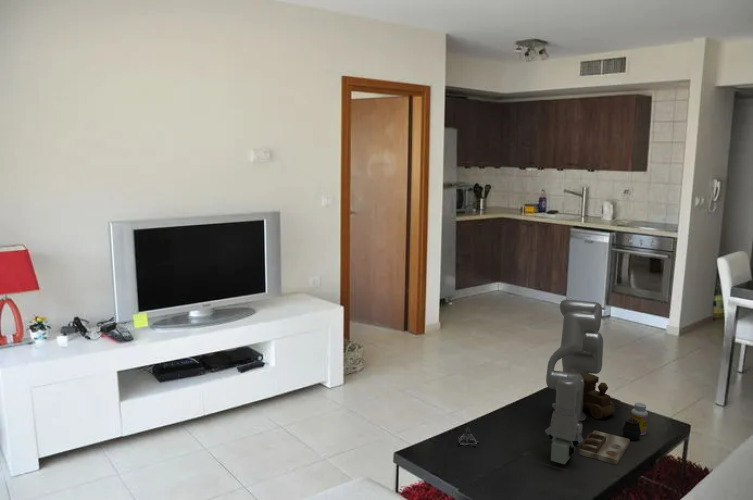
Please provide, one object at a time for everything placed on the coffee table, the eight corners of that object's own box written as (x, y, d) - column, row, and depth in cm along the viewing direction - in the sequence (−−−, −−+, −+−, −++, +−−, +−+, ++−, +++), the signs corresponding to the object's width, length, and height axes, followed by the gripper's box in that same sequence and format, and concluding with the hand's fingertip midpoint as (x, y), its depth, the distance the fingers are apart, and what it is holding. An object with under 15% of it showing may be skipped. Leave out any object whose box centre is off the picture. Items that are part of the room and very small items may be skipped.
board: (578, 454, 249) (579, 445, 248) (594, 434, 267) (594, 426, 266) (616, 464, 240) (617, 455, 240) (629, 443, 258) (630, 435, 258)
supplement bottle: (643, 437, 264) (645, 409, 262) (627, 432, 269) (629, 404, 267) (648, 432, 269) (650, 404, 267) (632, 427, 274) (635, 400, 272)
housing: (550, 460, 240) (551, 443, 239) (561, 448, 250) (561, 432, 249) (564, 464, 237) (565, 447, 236) (574, 451, 247) (575, 435, 246)
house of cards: (478, 437, 264) (479, 420, 263) (480, 447, 255) (481, 429, 254) (457, 437, 264) (458, 420, 263) (459, 446, 256) (459, 429, 255)
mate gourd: (625, 441, 261) (627, 419, 259) (619, 433, 268) (620, 411, 267) (642, 441, 260) (644, 419, 259) (635, 433, 268) (637, 412, 266)
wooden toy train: (566, 408, 295) (567, 375, 293) (580, 402, 302) (582, 370, 299) (602, 422, 279) (604, 387, 277) (617, 416, 286) (619, 382, 283)
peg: (570, 444, 258) (571, 423, 256) (572, 440, 261) (574, 420, 260) (579, 446, 255) (580, 426, 254) (582, 443, 259) (583, 422, 257)
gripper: (540, 407, 242) (538, 450, 245) (584, 418, 233) (582, 463, 235) (547, 401, 248) (545, 443, 251) (590, 411, 239) (587, 455, 242)
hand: (563, 452), depth 243 cm, fingers closed on housing, 5 cm apart
